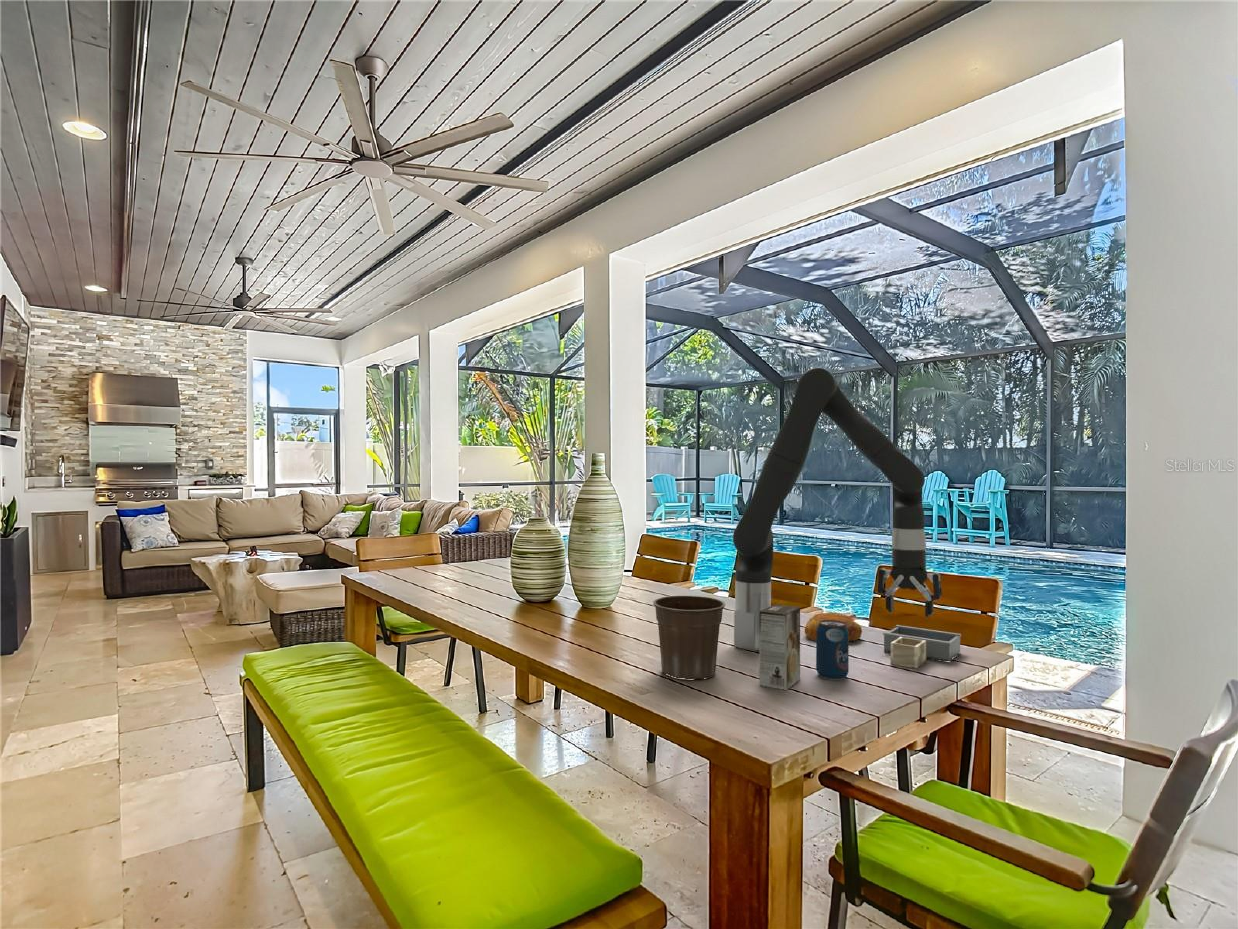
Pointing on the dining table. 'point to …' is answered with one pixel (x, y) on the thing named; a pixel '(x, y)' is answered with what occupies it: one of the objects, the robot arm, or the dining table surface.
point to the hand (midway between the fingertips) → (909, 614)
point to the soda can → (832, 650)
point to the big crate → (927, 641)
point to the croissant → (851, 625)
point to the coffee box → (779, 646)
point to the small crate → (908, 652)
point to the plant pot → (688, 635)
